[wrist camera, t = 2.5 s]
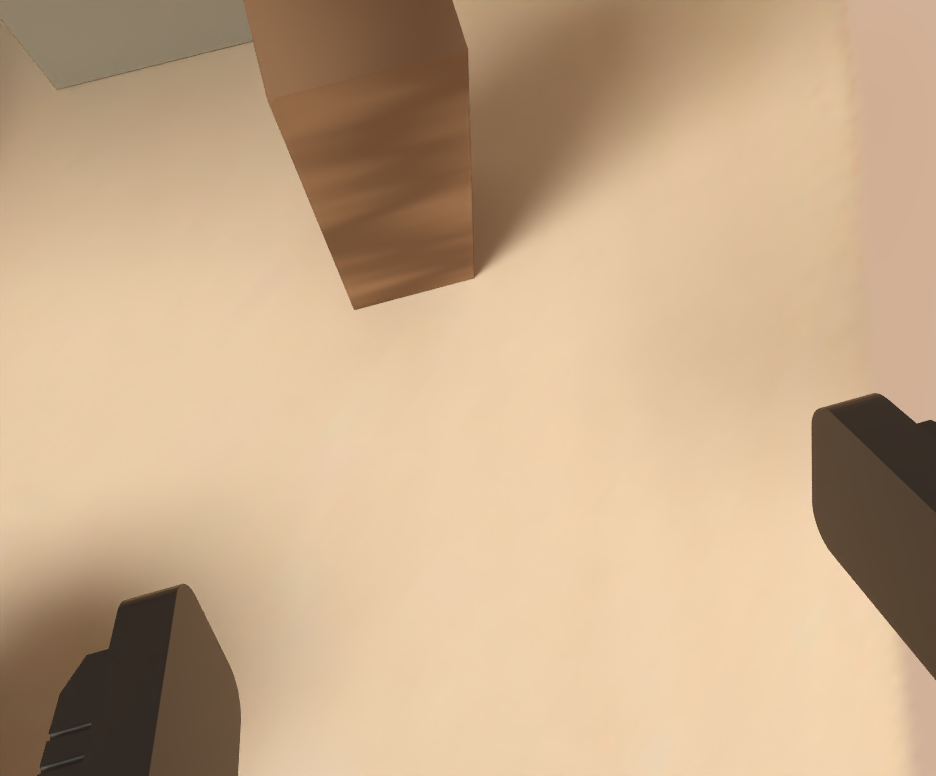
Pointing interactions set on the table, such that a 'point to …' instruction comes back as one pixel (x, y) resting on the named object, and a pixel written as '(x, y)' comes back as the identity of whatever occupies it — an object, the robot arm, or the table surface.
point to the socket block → (119, 33)
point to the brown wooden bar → (376, 134)
